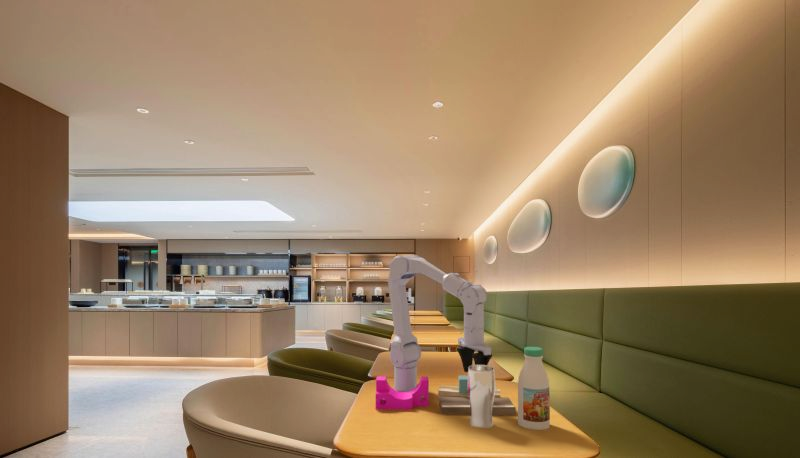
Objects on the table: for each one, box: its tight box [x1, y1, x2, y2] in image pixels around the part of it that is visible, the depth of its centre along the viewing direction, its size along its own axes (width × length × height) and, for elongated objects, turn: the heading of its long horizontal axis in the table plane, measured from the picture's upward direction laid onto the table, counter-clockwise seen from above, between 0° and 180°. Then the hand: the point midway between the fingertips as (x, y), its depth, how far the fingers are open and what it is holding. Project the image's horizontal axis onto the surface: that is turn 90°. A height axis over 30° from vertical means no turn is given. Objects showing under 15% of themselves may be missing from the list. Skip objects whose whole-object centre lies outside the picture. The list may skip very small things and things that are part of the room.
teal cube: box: [457, 374, 468, 393], centre depth 137 cm, size 4×4×4 cm
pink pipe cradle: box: [375, 375, 430, 410], centre depth 133 cm, size 15×6×8 cm, turn 90°
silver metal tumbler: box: [467, 364, 496, 429], centre depth 117 cm, size 7×7×15 cm
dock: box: [438, 396, 516, 416], centre depth 129 cm, size 8×20×2 cm, turn 90°
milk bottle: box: [517, 346, 551, 431], centre depth 117 cm, size 8×8×20 cm
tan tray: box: [437, 385, 501, 401], centre depth 138 cm, size 5×18×3 cm, turn 78°
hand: (474, 374), depth 134 cm, fingers open, 6 cm apart
